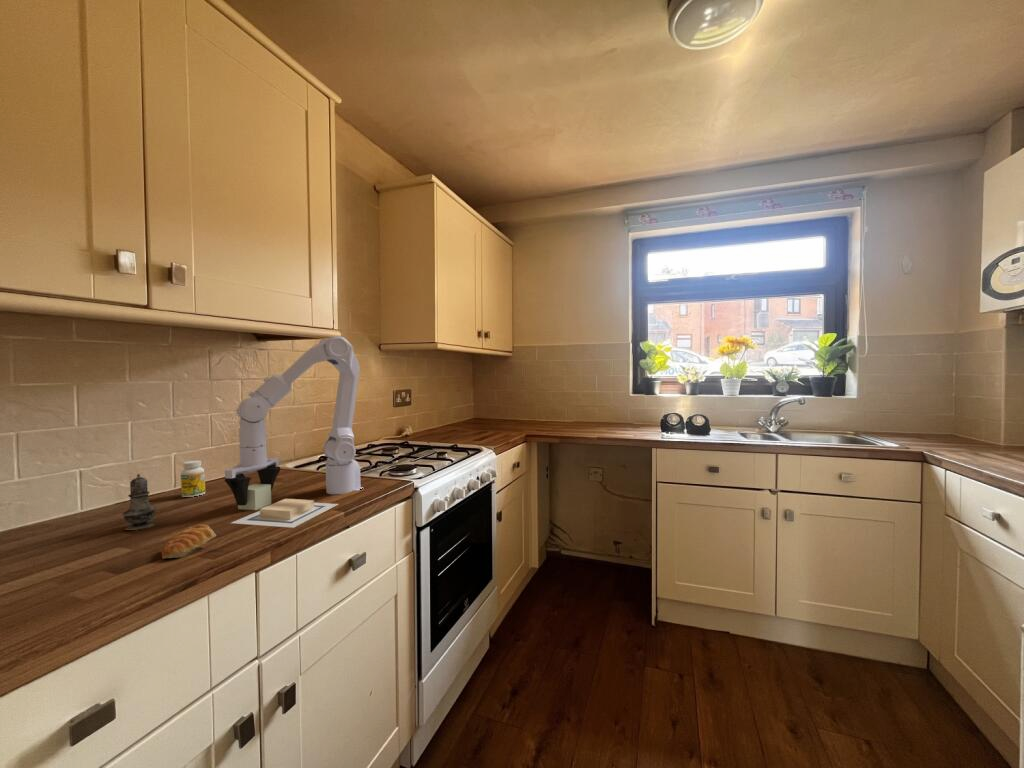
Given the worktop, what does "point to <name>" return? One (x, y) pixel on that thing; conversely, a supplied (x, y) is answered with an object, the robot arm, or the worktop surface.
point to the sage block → (257, 497)
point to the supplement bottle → (192, 479)
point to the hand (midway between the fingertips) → (254, 500)
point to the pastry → (187, 541)
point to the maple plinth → (287, 509)
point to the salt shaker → (139, 505)
